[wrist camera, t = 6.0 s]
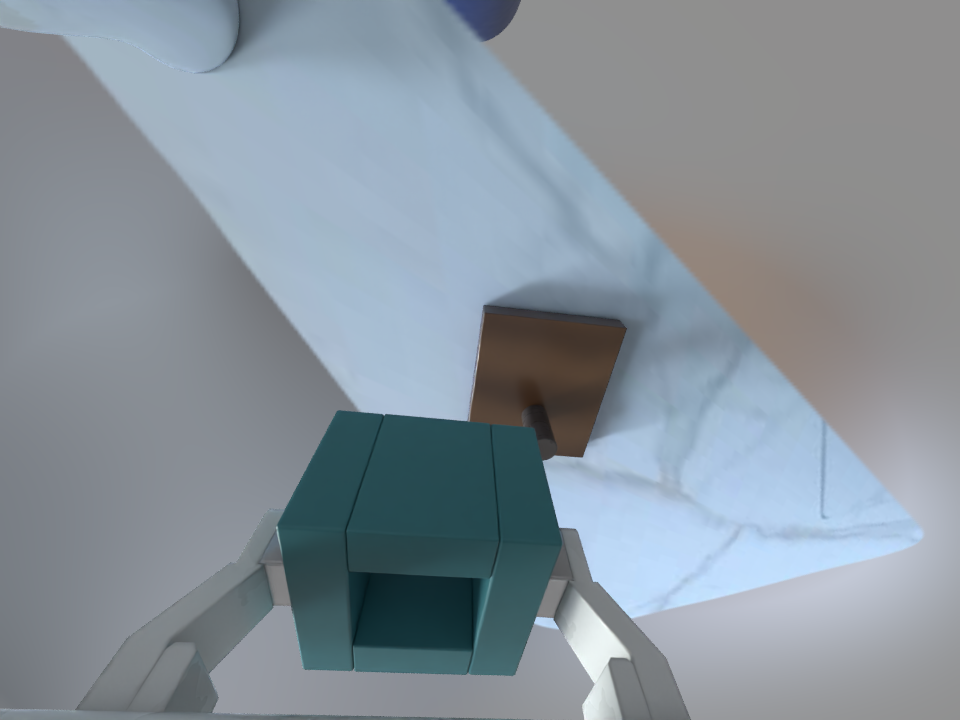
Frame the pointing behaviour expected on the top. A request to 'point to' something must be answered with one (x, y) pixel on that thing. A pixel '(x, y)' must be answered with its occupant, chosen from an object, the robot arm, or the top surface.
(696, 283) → the top surface
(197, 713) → the robot arm
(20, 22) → the beer glass
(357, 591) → the teal hollow square block
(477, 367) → the base pad
